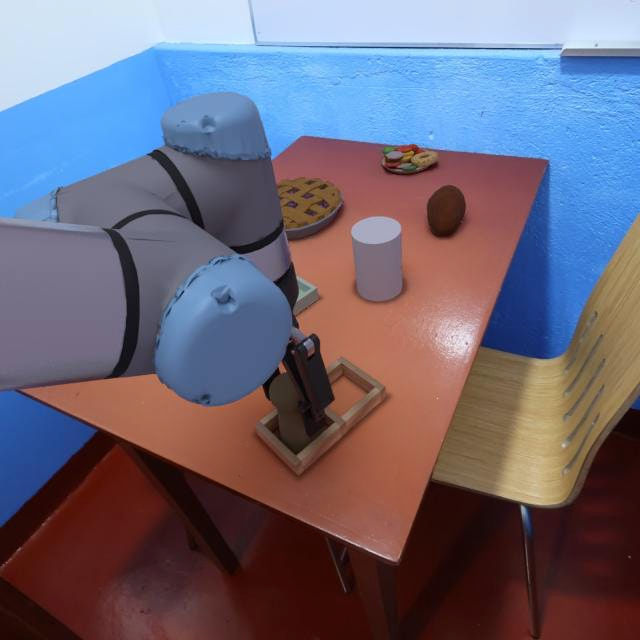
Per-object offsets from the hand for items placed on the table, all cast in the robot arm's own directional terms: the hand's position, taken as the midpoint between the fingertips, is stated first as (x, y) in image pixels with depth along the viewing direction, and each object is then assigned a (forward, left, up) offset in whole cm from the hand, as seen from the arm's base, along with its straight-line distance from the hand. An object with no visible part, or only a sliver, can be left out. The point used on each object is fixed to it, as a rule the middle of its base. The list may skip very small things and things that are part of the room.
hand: (295, 410), depth 61 cm
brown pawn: (0, 0, -6) cm, 6 cm away
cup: (+30, +13, -6) cm, 33 cm away
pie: (+37, +45, -6) cm, 58 cm away
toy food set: (+70, +40, -6) cm, 81 cm away
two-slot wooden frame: (+4, 0, -5) cm, 7 cm away
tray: (+11, +27, -5) cm, 30 cm away
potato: (+53, +16, -6) cm, 56 cm away
